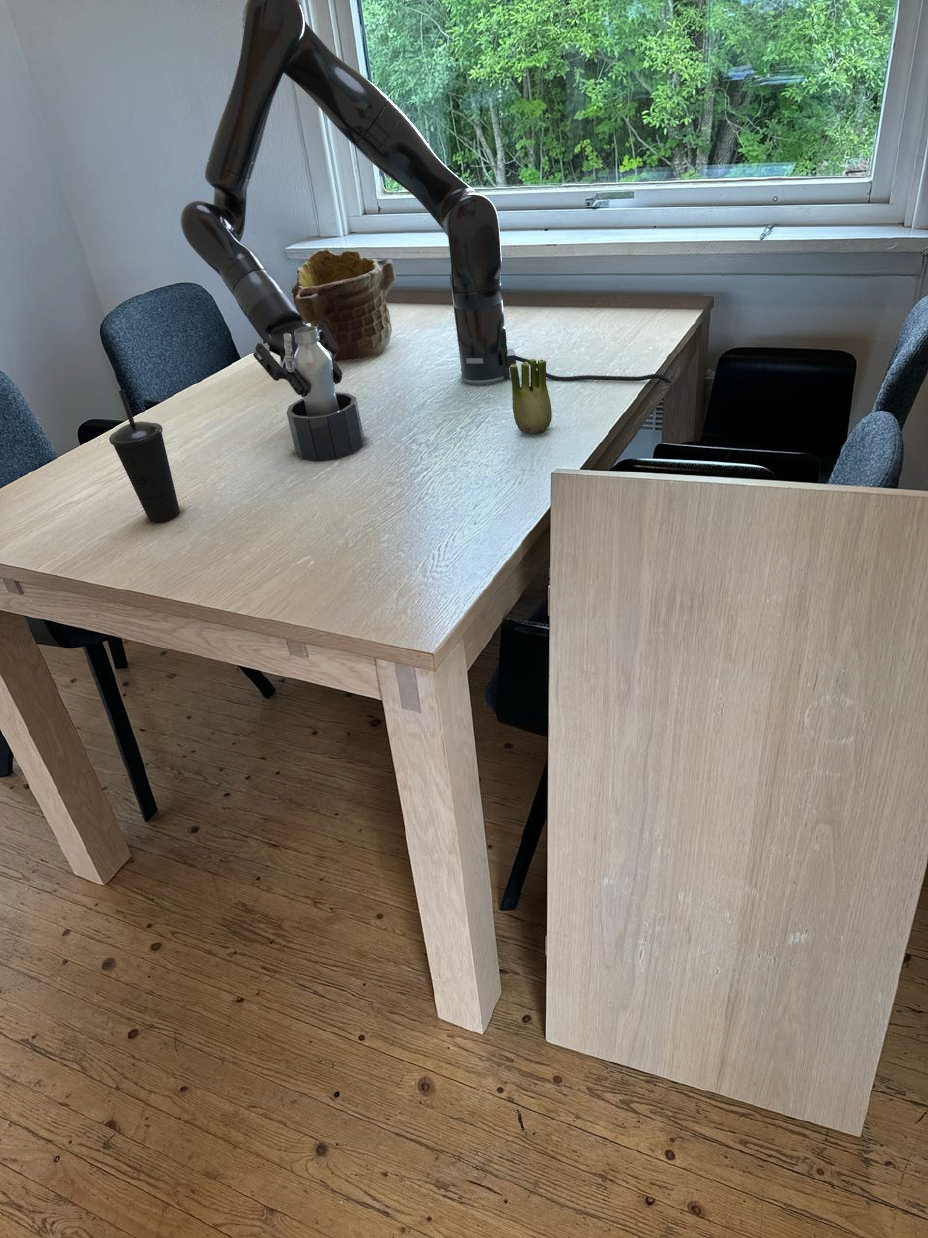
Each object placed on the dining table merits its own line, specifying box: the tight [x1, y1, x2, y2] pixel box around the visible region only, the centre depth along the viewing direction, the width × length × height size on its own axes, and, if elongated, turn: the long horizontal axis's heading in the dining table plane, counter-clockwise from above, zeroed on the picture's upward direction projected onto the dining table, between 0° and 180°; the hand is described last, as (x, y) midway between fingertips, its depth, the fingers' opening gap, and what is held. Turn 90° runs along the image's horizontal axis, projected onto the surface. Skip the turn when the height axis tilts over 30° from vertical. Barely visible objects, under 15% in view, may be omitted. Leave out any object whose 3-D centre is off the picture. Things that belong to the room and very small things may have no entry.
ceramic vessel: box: [291, 248, 397, 362], centre depth 188 cm, size 23×24×25 cm
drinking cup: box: [108, 389, 181, 524], centre depth 130 cm, size 8×8×20 cm
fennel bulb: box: [509, 358, 553, 435], centre depth 142 cm, size 6×5×12 cm
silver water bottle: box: [293, 325, 340, 417], centre depth 145 cm, size 6×7×20 cm
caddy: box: [285, 391, 365, 462], centre depth 149 cm, size 12×12×8 cm
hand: (322, 386), depth 144 cm, fingers closed on silver water bottle, 6 cm apart
